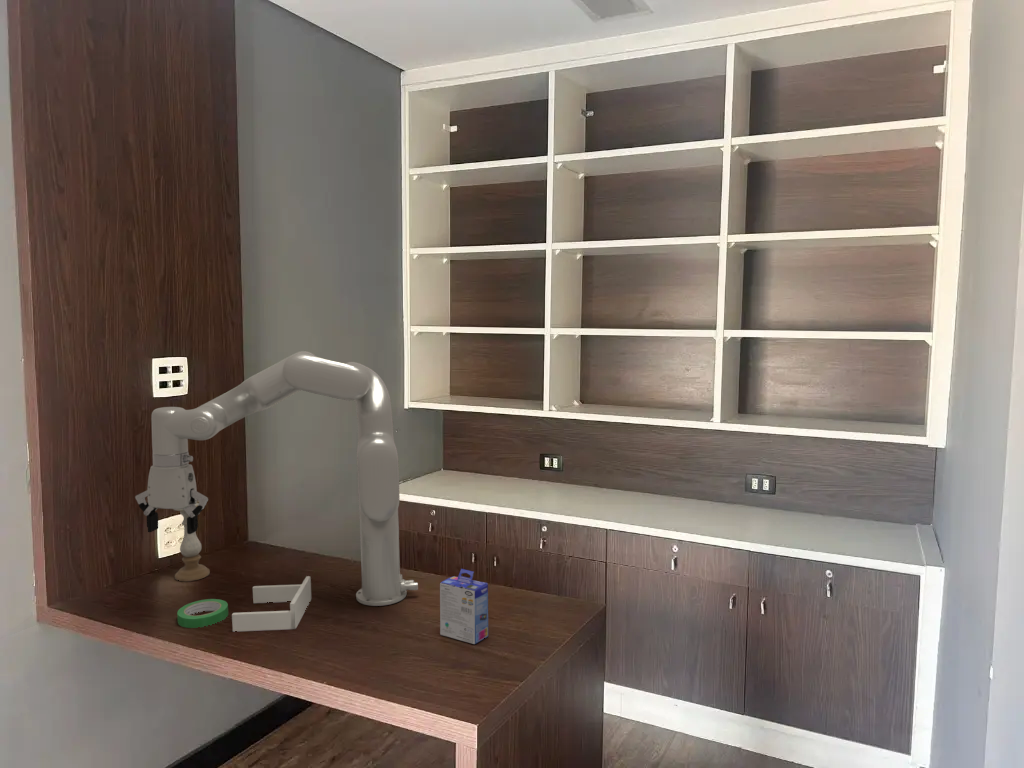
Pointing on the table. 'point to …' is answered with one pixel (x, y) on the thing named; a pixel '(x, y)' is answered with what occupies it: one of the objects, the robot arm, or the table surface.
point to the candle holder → (190, 554)
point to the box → (275, 619)
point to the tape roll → (199, 606)
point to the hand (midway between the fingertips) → (172, 531)
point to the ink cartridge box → (464, 608)
